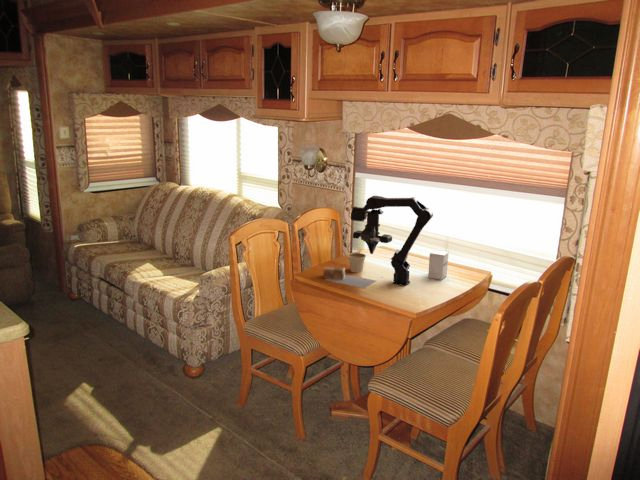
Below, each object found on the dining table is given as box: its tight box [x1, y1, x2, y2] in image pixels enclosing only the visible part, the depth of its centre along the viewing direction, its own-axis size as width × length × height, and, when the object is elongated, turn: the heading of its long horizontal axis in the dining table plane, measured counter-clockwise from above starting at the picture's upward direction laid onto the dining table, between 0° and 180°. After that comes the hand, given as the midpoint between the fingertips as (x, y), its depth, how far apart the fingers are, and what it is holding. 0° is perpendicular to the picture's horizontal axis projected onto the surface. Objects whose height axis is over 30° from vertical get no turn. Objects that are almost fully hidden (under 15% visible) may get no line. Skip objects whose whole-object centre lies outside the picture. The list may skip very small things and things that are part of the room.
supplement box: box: [427, 250, 449, 281], centre depth 257 cm, size 7×7×13 cm
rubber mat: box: [324, 273, 377, 289], centre depth 251 cm, size 22×13×1 cm, turn 57°
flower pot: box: [347, 252, 367, 273], centre depth 265 cm, size 9×9×9 cm
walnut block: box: [322, 266, 346, 280], centre depth 255 cm, size 4×4×10 cm
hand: (371, 253), depth 251 cm, fingers closed
